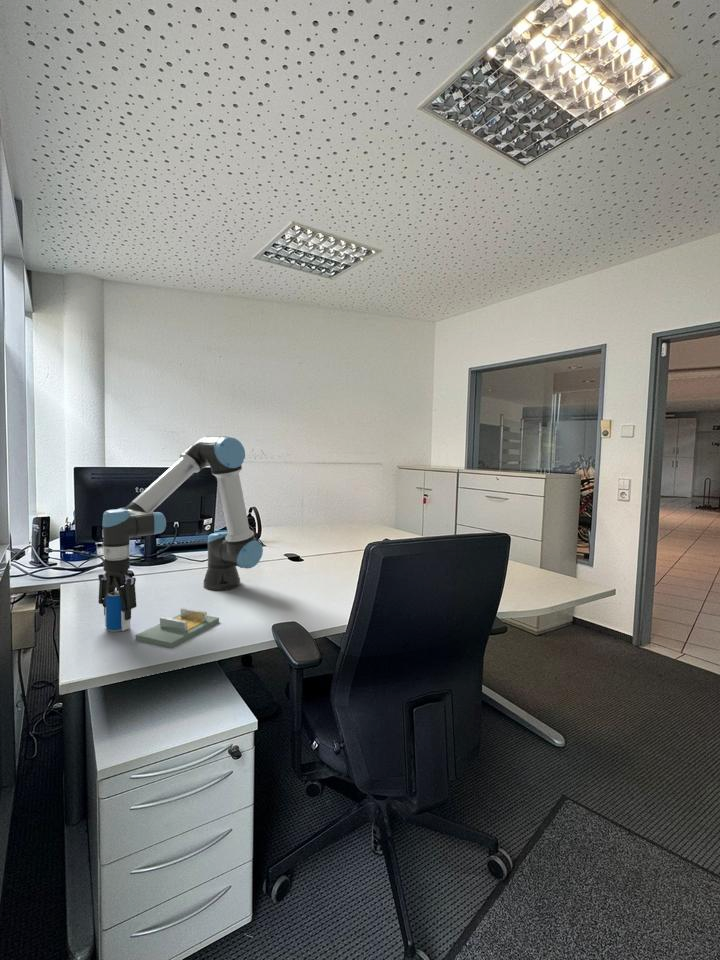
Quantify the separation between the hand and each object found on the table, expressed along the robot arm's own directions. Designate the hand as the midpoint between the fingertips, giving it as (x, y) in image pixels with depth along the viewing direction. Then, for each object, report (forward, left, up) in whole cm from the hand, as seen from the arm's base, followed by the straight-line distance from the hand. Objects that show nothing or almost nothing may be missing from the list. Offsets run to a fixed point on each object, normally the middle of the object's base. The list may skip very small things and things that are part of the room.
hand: (117, 627), depth 149 cm
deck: (+19, +7, 0) cm, 20 cm away
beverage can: (0, 0, -1) cm, 1 cm away
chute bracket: (+19, +9, +1) cm, 21 cm away
